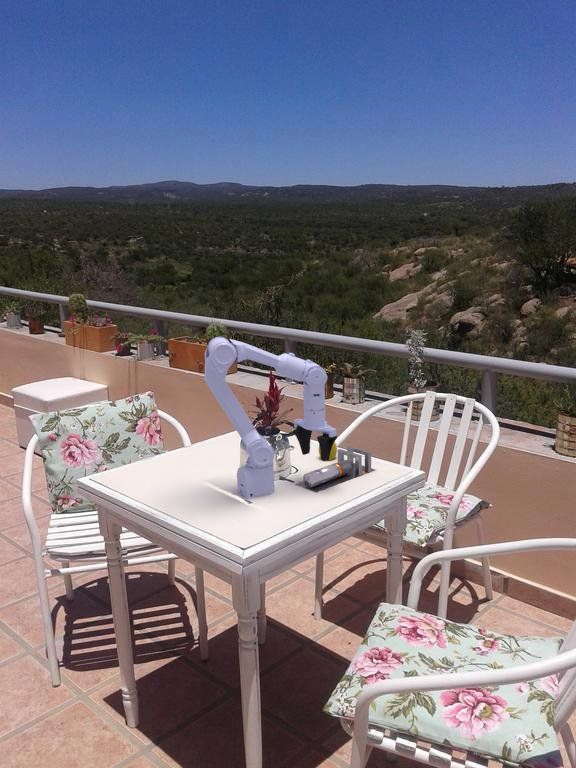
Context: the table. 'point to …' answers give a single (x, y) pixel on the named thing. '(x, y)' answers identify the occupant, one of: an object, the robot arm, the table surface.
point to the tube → (327, 473)
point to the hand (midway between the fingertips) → (315, 457)
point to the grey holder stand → (356, 472)
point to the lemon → (333, 451)
